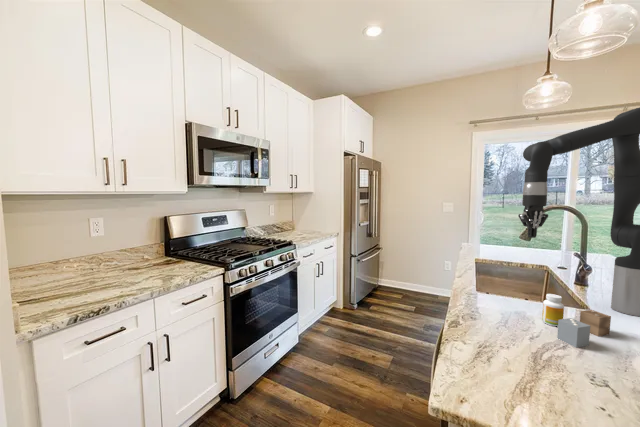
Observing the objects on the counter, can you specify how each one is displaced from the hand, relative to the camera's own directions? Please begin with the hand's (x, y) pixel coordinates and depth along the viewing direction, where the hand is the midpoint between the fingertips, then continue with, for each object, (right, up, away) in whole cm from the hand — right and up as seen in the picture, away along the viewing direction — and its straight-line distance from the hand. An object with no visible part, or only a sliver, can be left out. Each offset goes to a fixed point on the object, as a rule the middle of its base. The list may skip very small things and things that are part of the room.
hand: (532, 237), depth 107 cm
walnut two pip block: (+3, -29, -21) cm, 36 cm away
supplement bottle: (-6, -28, -16) cm, 33 cm away
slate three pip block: (-9, -29, -27) cm, 41 cm away
